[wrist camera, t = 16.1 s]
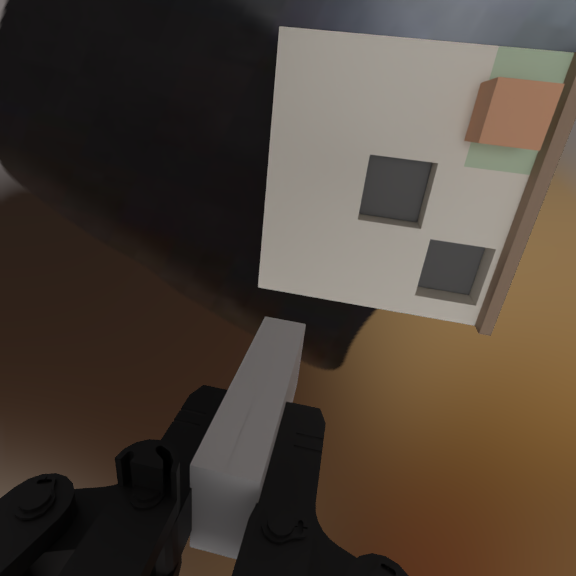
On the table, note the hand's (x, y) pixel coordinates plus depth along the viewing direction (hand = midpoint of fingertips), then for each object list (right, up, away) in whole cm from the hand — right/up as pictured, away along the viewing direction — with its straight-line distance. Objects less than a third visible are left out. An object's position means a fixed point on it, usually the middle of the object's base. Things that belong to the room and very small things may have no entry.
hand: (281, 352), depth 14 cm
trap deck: (+10, +11, +20) cm, 25 cm away
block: (+16, +15, +14) cm, 27 cm away
